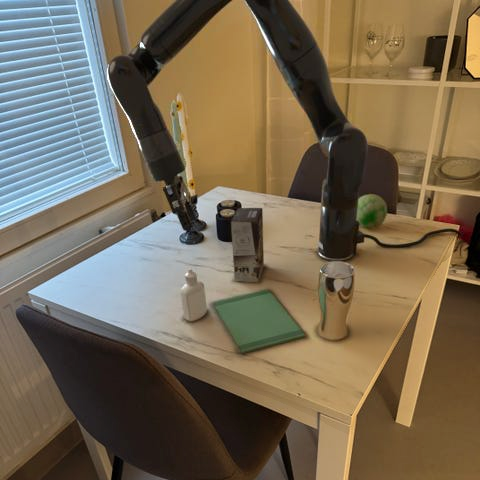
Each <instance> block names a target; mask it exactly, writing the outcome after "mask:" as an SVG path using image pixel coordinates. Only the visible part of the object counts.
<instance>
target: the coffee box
mask: <svg viewBox="0 0 480 480" xmlns="http://www.w3.org/2000/svg"><path fill="white" fill-rule="evenodd" d="M263 214H264V213H263V207H238V208H237V209H236V211H235V213H234V215H233V217H232V219H231V221H230V226H231V245H232V260H233V261H232V262H233V276H234V277H233V278H234V279H233V280H234V281H235V282H249V283H259V280H260V279H261V276H262V275H261V274H262V272H263V269H264V266H265V261H264V260H265V257H264V256H265V255H264V253H265V251H264V223H263V222H264V220H263Z"/></svg>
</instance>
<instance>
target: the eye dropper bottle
mask: <svg viewBox="0 0 480 480" xmlns="http://www.w3.org/2000/svg"><path fill="white" fill-rule="evenodd" d="M197 276H198V275H197V273H196V272H194V271H193V269H192V268H191V267H189V268H188V269H187V272H186V273H185V274H184V278H185V284H184V285H183V286H182V288H181V289H180V298H181V307H182V312H183V319H184V320H186V321H189V322H195V321H197V320H199V319H201V318H203V317H204V316H205V315H206V314H207V312H208V308H207V307H208V306H207V298H206V290H205V284H204V282H203V281H200V280H198V277H197Z"/></svg>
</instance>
